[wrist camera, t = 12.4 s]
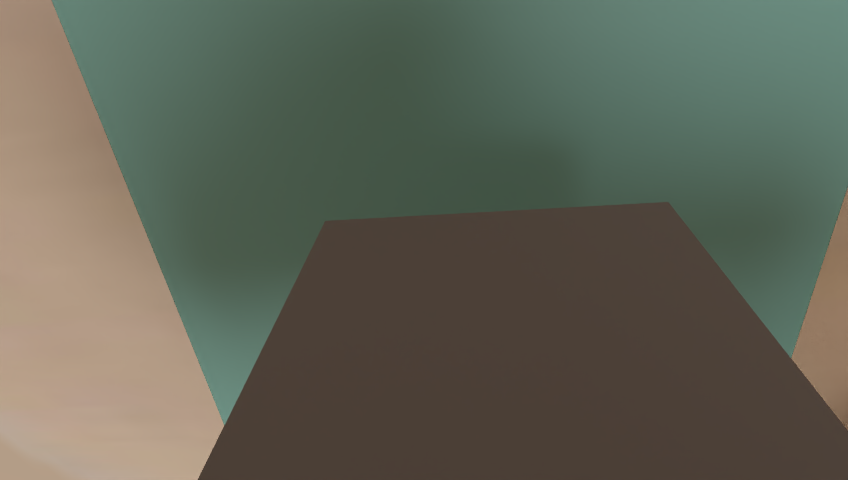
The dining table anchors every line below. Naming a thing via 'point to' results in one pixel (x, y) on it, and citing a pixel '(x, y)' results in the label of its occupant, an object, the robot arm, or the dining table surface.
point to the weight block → (523, 359)
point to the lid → (462, 132)
